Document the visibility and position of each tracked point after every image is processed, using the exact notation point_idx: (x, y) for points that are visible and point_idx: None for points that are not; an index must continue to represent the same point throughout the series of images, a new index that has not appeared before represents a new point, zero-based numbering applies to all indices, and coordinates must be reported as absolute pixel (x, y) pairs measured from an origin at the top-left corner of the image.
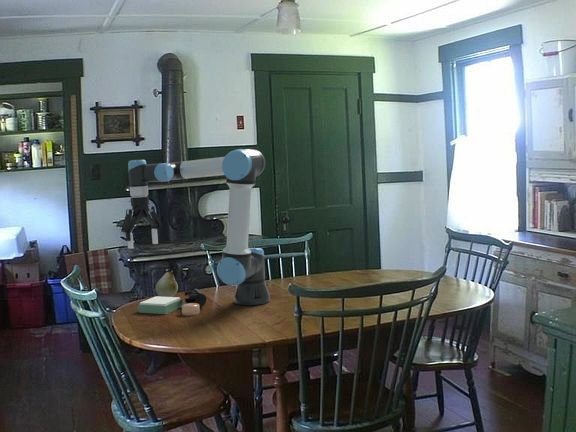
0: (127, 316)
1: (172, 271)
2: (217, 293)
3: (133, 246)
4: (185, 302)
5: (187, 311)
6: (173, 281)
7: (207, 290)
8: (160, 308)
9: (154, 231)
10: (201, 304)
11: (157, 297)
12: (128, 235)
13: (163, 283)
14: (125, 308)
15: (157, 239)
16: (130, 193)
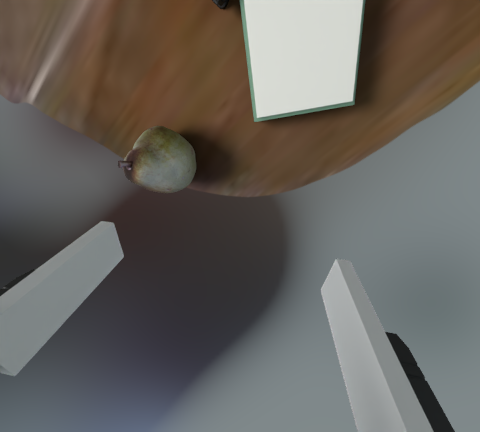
0: (397, 101)
1: (121, 161)
2: (60, 34)
3: (341, 269)
4: (224, 1)
5: None
6: (148, 140)
7: (65, 103)
8: None
9: (21, 322)
10: None
11: (269, 98)
12: (435, 408)
13: (179, 157)
14: (307, 175)
15: (77, 241)
16: None
